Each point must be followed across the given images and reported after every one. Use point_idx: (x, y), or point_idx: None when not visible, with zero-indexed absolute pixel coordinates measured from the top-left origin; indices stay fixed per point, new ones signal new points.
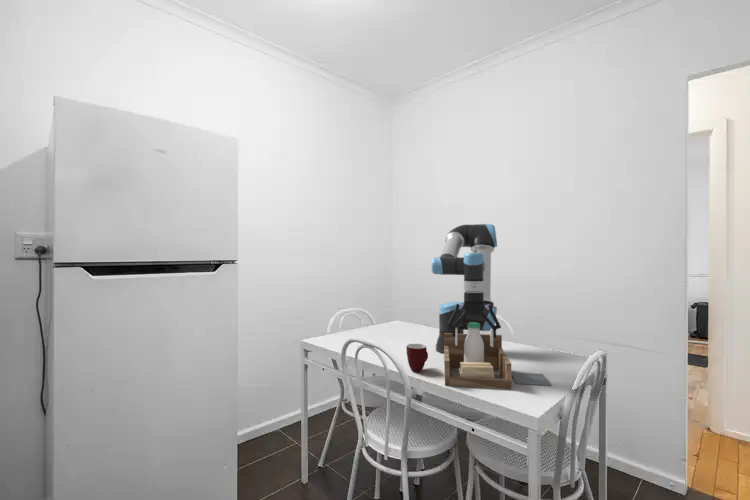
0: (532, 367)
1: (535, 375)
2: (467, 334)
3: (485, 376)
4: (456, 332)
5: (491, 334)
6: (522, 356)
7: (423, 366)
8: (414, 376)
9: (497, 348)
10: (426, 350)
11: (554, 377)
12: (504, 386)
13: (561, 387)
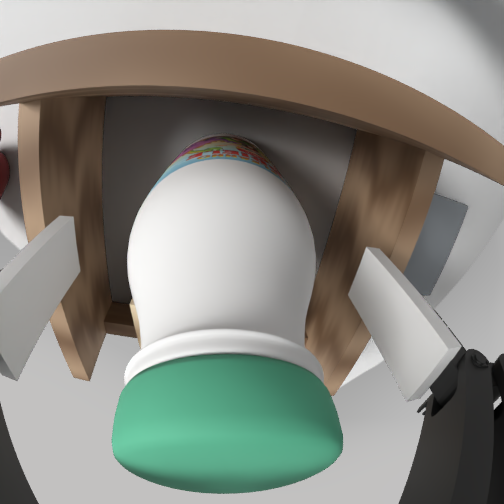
0: (478, 125)
1: (445, 221)
2: (137, 310)
3: None
4: (24, 348)
5: (391, 368)
6: (482, 8)
7: (3, 186)
8: (4, 234)
9: (422, 149)
10: None
11: (475, 227)
12: None
13: (439, 298)
